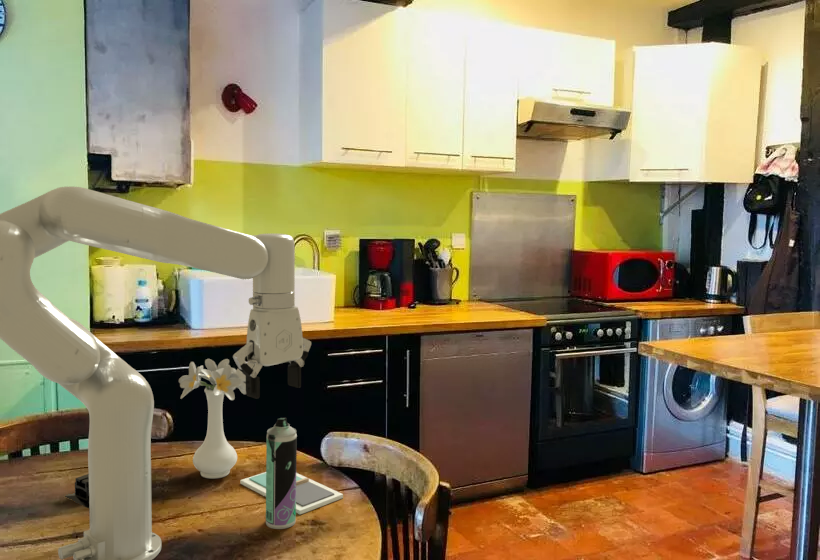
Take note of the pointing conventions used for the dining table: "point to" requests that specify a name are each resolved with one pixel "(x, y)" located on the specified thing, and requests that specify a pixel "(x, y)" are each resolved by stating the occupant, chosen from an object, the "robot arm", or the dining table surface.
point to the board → (298, 492)
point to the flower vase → (214, 415)
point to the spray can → (281, 475)
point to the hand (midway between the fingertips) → (274, 391)
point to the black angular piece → (81, 491)
